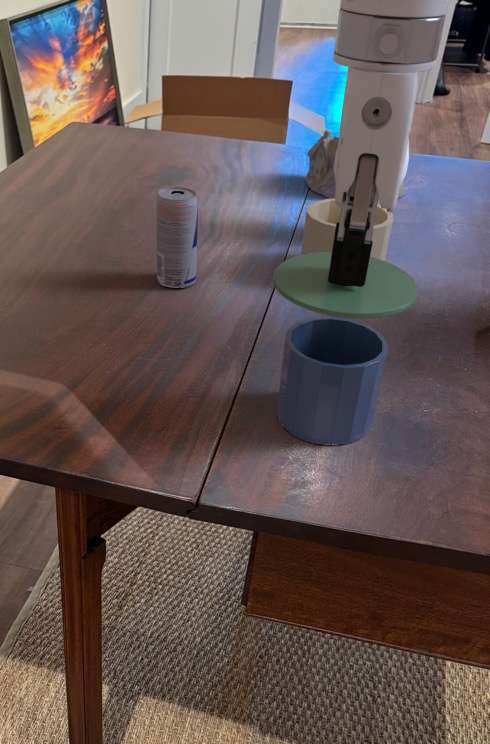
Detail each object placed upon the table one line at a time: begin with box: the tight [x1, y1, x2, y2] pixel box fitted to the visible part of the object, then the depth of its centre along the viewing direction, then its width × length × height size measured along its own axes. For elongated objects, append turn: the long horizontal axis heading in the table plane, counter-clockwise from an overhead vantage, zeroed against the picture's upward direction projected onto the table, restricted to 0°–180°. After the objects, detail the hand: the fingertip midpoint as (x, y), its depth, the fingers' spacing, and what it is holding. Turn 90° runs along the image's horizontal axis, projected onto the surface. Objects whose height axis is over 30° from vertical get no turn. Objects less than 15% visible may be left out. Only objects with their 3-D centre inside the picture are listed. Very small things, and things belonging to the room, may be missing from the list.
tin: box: [300, 198, 394, 261], centre depth 99 cm, size 12×12×8 cm
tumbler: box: [276, 316, 388, 446], centre depth 70 cm, size 10×10×9 cm
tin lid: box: [273, 229, 419, 320], centre depth 63 cm, size 13×13×6 cm
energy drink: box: [155, 186, 199, 288], centre depth 94 cm, size 5×5×12 cm
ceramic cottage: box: [304, 129, 405, 199], centre depth 126 cm, size 16×16×15 cm
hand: (346, 274), depth 63 cm, fingers closed on tin lid, 2 cm apart
